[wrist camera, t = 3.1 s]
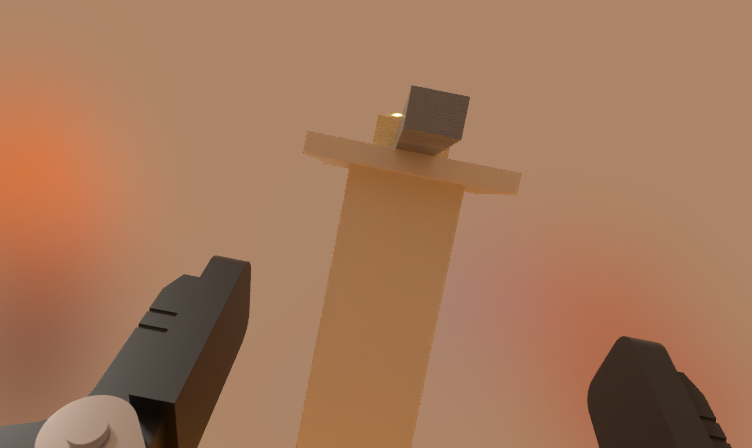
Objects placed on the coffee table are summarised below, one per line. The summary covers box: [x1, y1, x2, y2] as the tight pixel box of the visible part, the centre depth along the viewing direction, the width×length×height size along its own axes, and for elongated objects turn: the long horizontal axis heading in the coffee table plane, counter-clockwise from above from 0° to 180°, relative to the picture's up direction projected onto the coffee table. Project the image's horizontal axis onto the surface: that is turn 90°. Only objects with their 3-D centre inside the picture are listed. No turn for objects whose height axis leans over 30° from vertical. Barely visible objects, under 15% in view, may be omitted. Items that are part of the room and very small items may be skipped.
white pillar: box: [296, 131, 521, 448], centre depth 35 cm, size 12×12×32 cm
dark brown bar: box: [373, 86, 470, 159], centre depth 29 cm, size 5×20×3 cm, turn 179°
